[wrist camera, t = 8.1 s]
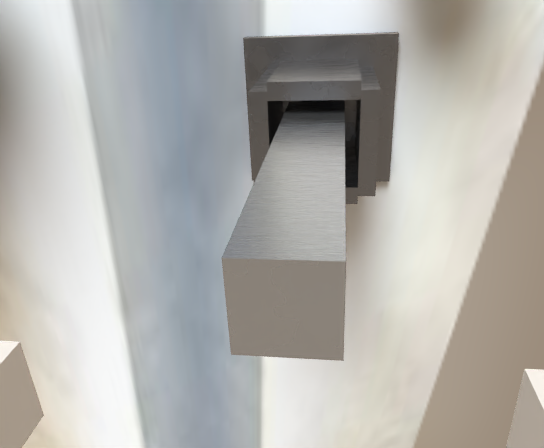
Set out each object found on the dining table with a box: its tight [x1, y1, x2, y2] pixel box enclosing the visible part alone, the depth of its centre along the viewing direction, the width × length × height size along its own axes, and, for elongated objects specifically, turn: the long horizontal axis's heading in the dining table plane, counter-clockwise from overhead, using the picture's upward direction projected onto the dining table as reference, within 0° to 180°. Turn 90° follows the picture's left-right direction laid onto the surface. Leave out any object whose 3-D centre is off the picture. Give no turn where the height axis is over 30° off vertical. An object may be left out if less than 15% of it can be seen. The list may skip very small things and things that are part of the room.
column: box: [222, 101, 346, 361], centre depth 27 cm, size 4×5×23 cm
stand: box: [243, 32, 399, 204], centre depth 37 cm, size 12×12×12 cm
